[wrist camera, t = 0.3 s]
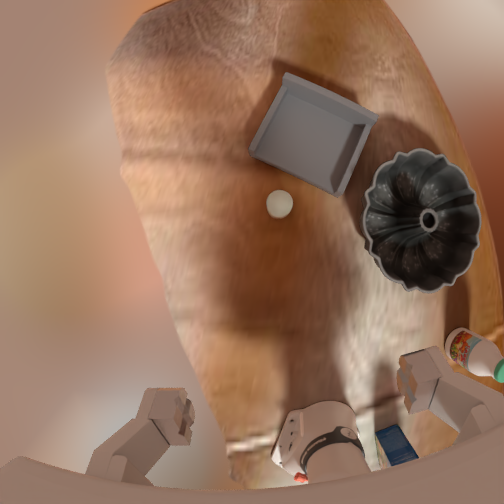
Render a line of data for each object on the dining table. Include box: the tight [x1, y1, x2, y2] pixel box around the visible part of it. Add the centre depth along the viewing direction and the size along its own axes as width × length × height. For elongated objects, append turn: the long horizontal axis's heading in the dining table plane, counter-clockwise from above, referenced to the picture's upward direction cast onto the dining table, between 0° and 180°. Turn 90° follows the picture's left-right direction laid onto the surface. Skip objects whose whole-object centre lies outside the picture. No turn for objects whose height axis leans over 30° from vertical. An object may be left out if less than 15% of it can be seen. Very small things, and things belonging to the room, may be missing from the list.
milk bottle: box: [445, 327, 504, 383], centre depth 49 cm, size 8×8×20 cm
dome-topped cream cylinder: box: [266, 190, 293, 219], centre depth 56 cm, size 4×4×8 cm
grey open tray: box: [248, 72, 379, 198], centre depth 56 cm, size 16×19×8 cm
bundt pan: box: [360, 148, 481, 293], centre depth 54 cm, size 26×26×10 cm
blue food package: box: [375, 424, 419, 469], centre depth 49 cm, size 6×12×25 cm, turn 17°
